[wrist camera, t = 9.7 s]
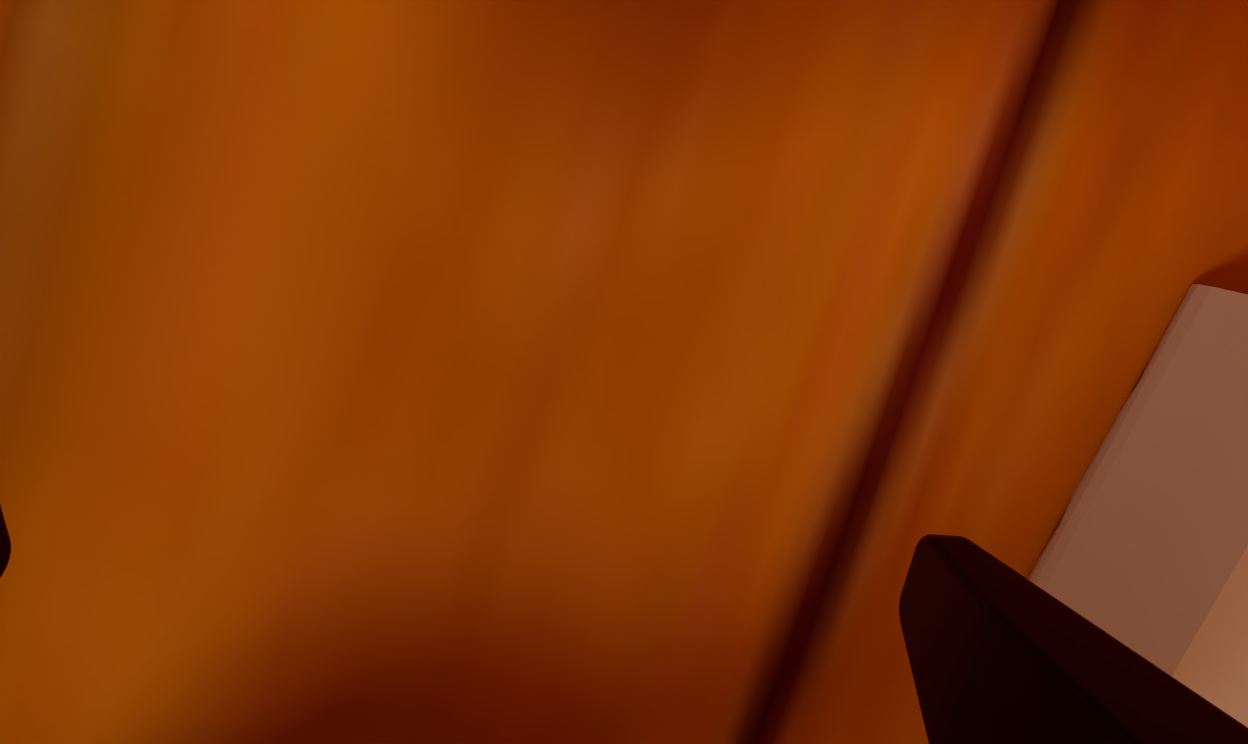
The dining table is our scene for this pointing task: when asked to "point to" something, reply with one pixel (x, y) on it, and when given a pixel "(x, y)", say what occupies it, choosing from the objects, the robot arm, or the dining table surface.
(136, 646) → the dining table surface
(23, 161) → the dining table surface
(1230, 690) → the decorative molding
